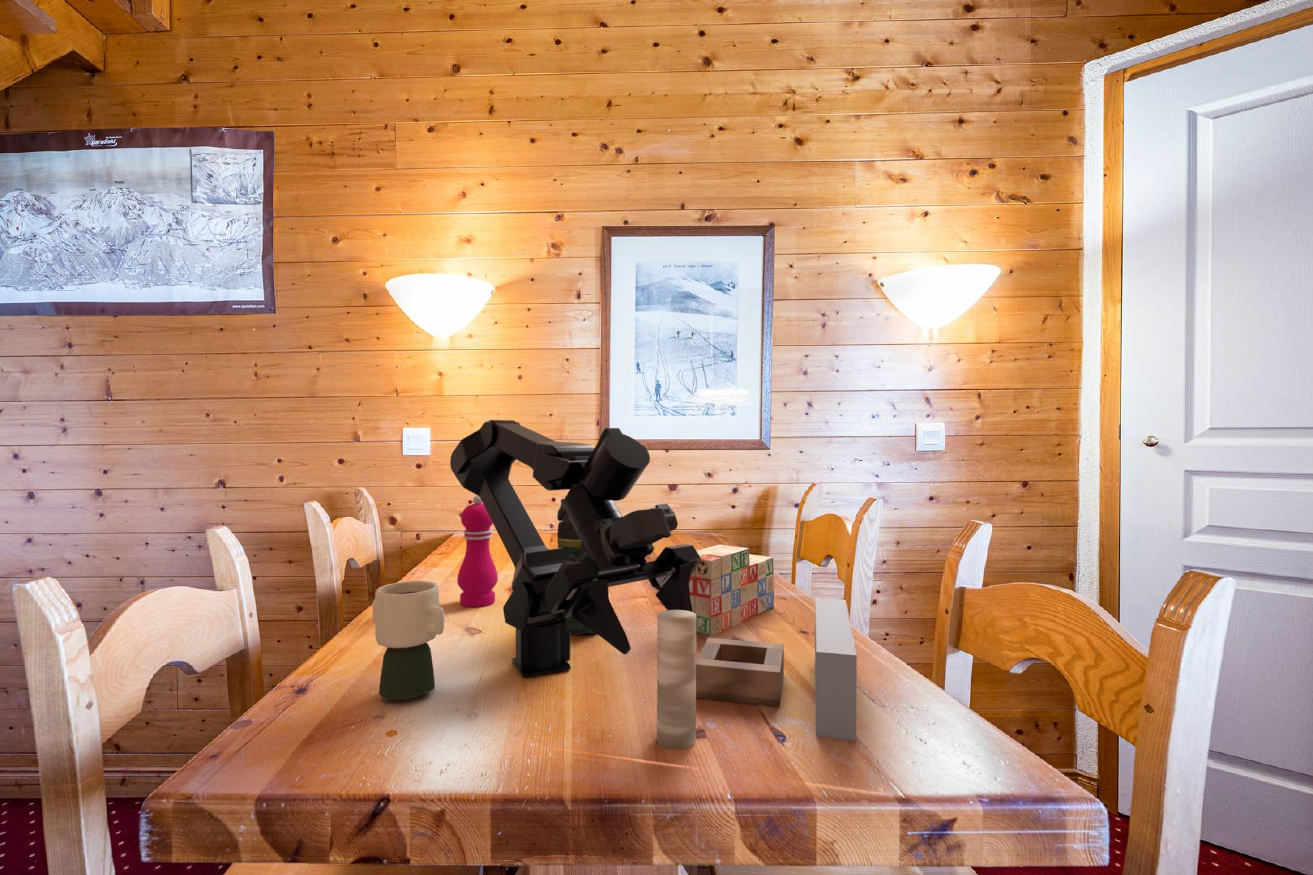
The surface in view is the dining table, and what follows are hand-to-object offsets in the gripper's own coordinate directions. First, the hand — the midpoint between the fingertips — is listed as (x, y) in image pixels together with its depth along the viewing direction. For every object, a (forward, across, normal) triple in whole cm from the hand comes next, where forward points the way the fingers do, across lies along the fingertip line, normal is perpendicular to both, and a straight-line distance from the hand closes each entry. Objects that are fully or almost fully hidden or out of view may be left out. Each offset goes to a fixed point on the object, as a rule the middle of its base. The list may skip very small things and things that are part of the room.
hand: (661, 642), depth 66 cm
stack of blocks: (-10, +36, +24) cm, 45 cm away
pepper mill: (-36, +7, +49) cm, 61 cm away
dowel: (+8, 0, +5) cm, 10 cm away
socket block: (+5, +16, +8) cm, 18 cm away
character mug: (-12, -17, +26) cm, 33 cm away
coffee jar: (-18, +14, +32) cm, 39 cm away
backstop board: (+11, +22, +2) cm, 25 cm away
